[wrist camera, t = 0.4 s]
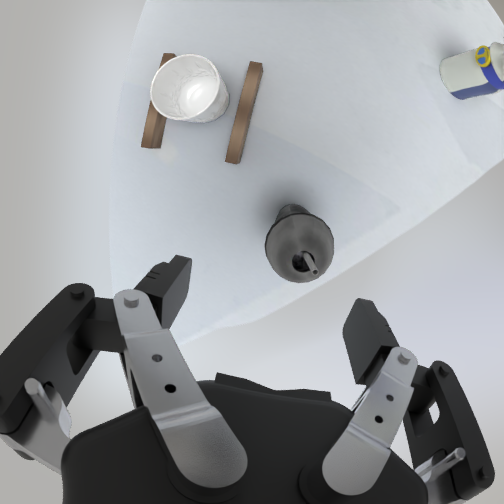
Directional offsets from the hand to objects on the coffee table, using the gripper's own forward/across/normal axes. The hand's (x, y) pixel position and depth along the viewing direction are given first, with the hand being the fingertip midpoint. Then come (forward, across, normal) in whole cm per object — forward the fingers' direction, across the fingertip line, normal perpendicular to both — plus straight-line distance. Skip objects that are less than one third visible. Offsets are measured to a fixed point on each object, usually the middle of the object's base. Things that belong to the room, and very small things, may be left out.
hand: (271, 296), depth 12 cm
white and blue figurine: (+28, -25, -29) cm, 47 cm away
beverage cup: (+27, -3, +3) cm, 28 cm away
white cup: (+28, +12, -11) cm, 32 cm away
